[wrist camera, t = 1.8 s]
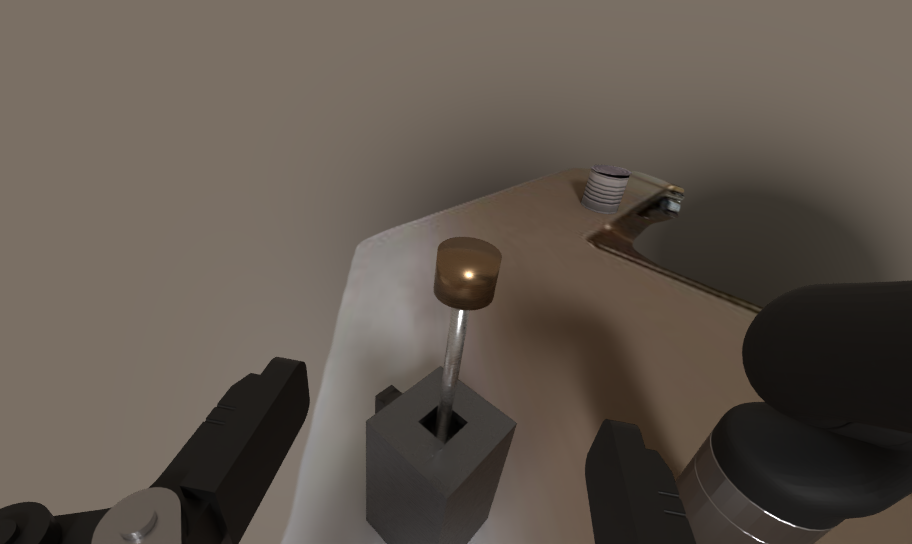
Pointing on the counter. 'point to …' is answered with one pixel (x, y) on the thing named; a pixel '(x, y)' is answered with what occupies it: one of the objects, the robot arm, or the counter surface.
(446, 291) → the plunger
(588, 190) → the can
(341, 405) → the counter surface
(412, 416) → the square hole block
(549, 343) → the counter surface
